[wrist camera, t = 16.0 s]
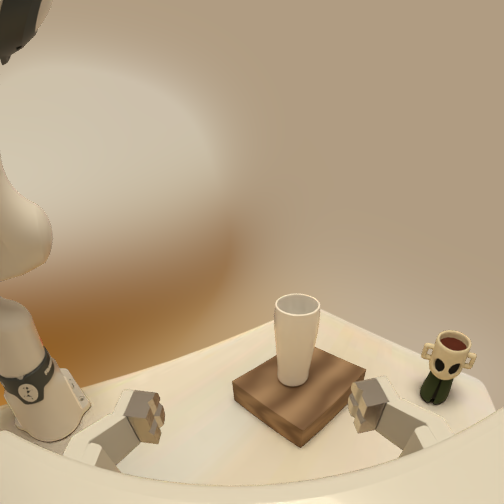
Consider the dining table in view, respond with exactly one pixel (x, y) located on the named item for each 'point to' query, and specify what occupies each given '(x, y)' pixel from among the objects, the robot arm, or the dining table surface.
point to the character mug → (445, 363)
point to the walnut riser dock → (298, 395)
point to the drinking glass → (295, 336)
